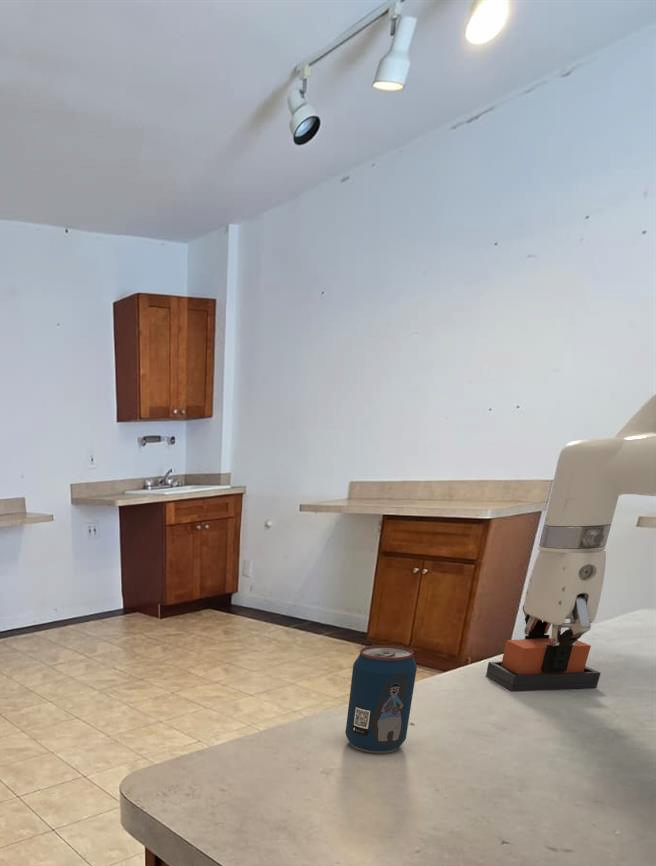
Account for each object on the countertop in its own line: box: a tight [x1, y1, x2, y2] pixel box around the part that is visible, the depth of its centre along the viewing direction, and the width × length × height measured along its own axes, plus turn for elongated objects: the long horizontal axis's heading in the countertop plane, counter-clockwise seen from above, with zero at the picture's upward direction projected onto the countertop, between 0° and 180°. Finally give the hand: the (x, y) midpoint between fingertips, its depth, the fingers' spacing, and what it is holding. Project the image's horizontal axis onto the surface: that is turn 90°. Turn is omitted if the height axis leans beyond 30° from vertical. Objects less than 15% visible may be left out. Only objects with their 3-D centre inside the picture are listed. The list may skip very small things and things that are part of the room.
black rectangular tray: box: [485, 660, 602, 692], centre depth 96 cm, size 12×8×2 cm, turn 85°
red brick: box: [501, 637, 592, 675], centre depth 95 cm, size 9×5×4 cm, turn 85°
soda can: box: [345, 644, 418, 754], centre depth 78 cm, size 7×7×12 cm
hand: (542, 664), depth 95 cm, fingers closed on red brick, 5 cm apart
